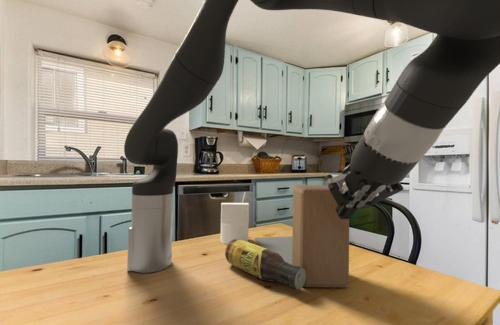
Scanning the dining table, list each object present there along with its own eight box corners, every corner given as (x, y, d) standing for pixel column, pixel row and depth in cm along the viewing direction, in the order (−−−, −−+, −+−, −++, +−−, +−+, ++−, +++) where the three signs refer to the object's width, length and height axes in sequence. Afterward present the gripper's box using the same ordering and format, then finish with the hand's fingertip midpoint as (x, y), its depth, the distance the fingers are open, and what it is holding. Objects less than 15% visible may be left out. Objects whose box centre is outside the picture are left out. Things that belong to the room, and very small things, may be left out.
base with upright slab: (247, 236, 84) (248, 201, 84) (248, 245, 75) (249, 206, 75) (221, 236, 83) (222, 201, 84) (219, 245, 74) (220, 205, 75)
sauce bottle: (222, 242, 58) (289, 266, 44) (241, 234, 63) (308, 253, 48) (224, 269, 59) (292, 301, 44) (243, 259, 63) (310, 285, 49)
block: (350, 289, 49) (351, 189, 49) (300, 289, 48) (302, 188, 49) (332, 268, 58) (333, 185, 59) (291, 268, 58) (292, 184, 59)
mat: (274, 268, 58) (274, 267, 58) (254, 238, 81) (254, 237, 81) (336, 265, 61) (336, 263, 61) (300, 237, 84) (300, 236, 84)
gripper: (420, 126, 36) (365, 198, 48) (337, 121, 33) (301, 198, 45) (456, 162, 30) (384, 232, 42) (360, 159, 28) (313, 234, 40)
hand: (341, 214), depth 44 cm, fingers closed
